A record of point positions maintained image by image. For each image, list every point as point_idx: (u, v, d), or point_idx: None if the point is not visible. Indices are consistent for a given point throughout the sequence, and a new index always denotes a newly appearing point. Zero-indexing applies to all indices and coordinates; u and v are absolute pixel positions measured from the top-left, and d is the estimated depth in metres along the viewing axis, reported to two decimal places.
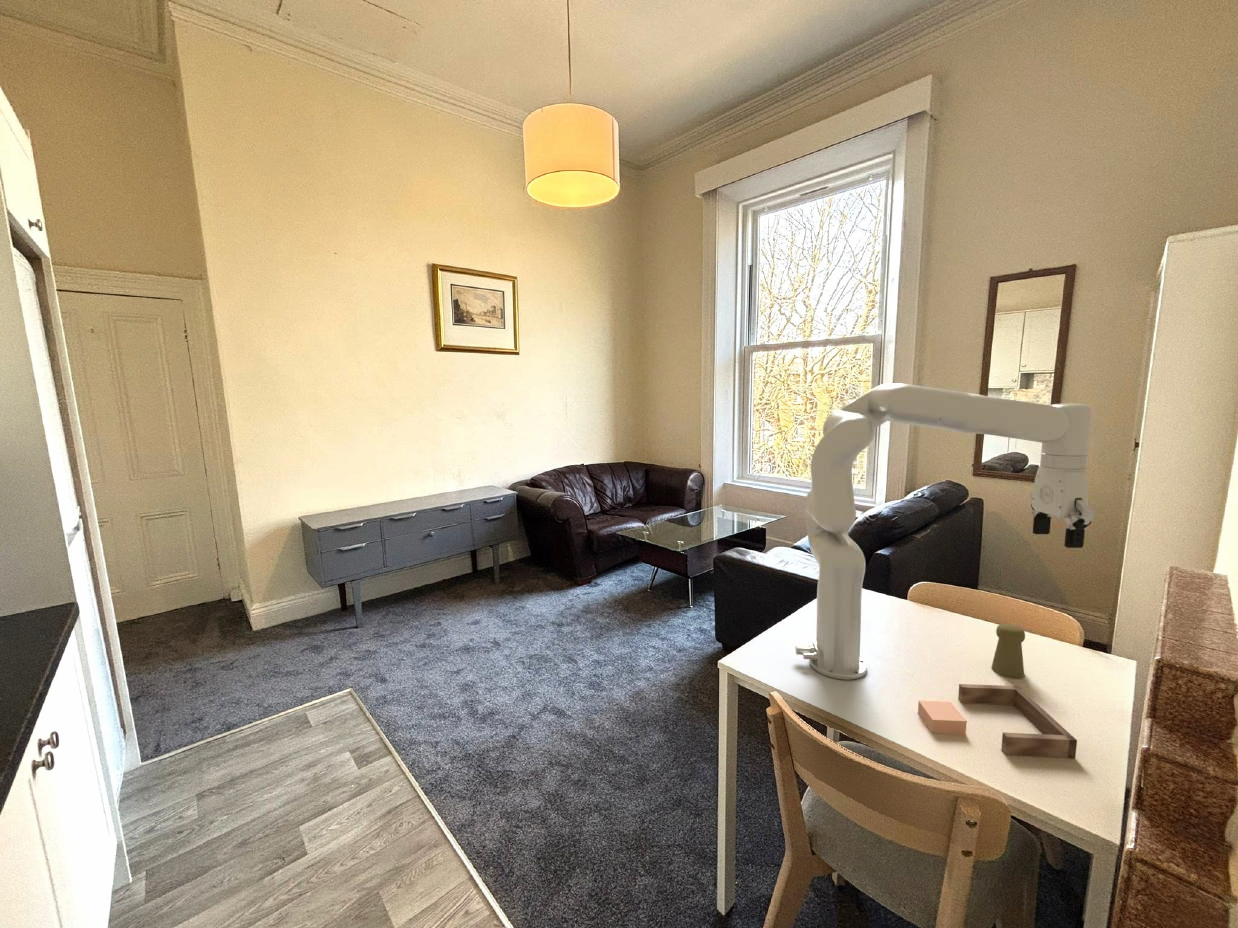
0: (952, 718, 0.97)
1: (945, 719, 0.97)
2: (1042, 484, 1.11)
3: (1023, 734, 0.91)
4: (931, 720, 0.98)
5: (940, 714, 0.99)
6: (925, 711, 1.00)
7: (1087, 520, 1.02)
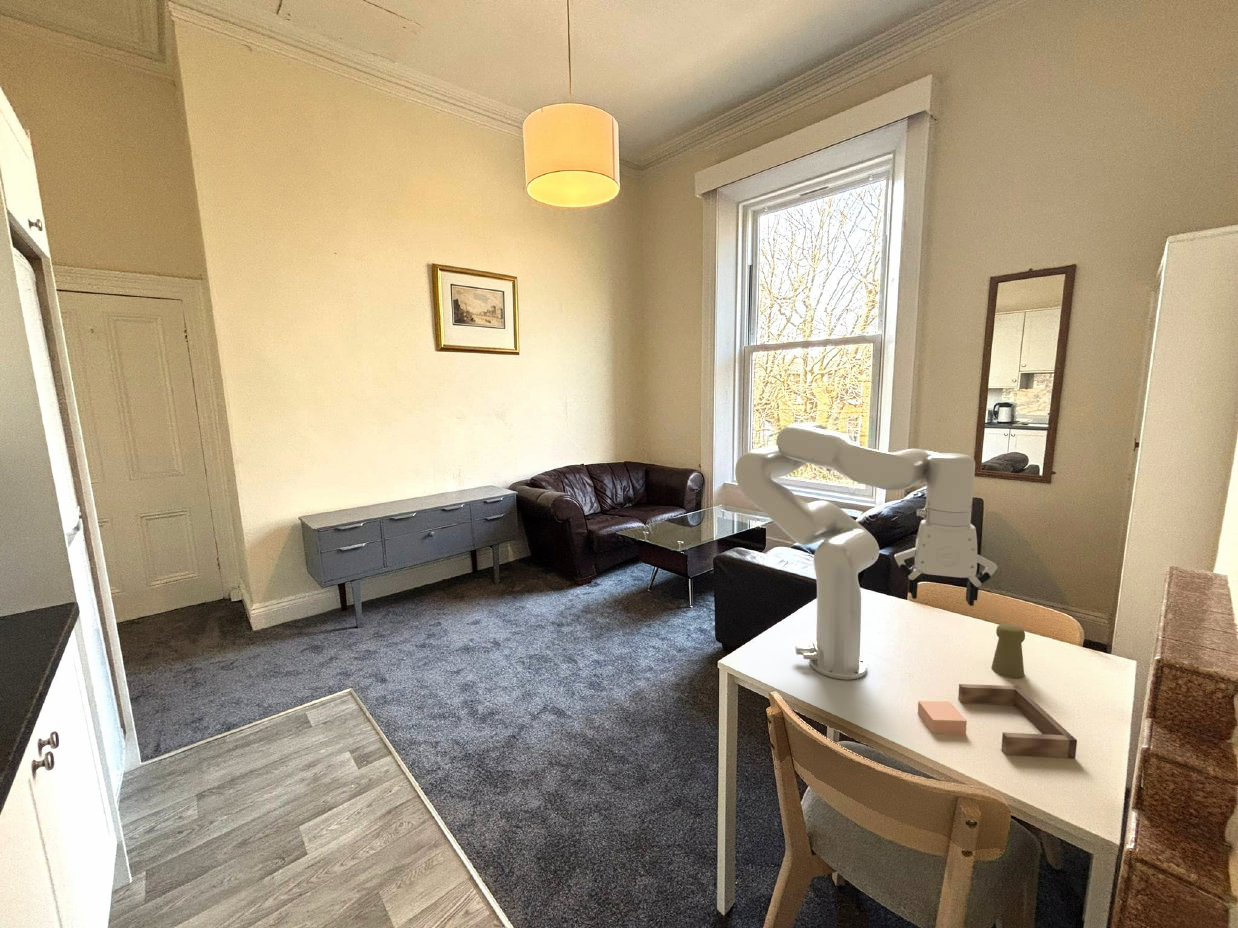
0: (952, 718, 0.97)
1: (946, 719, 0.97)
2: (940, 545, 0.98)
3: (1023, 734, 0.91)
4: (931, 721, 0.98)
5: (940, 714, 0.99)
6: (925, 711, 1.00)
7: None
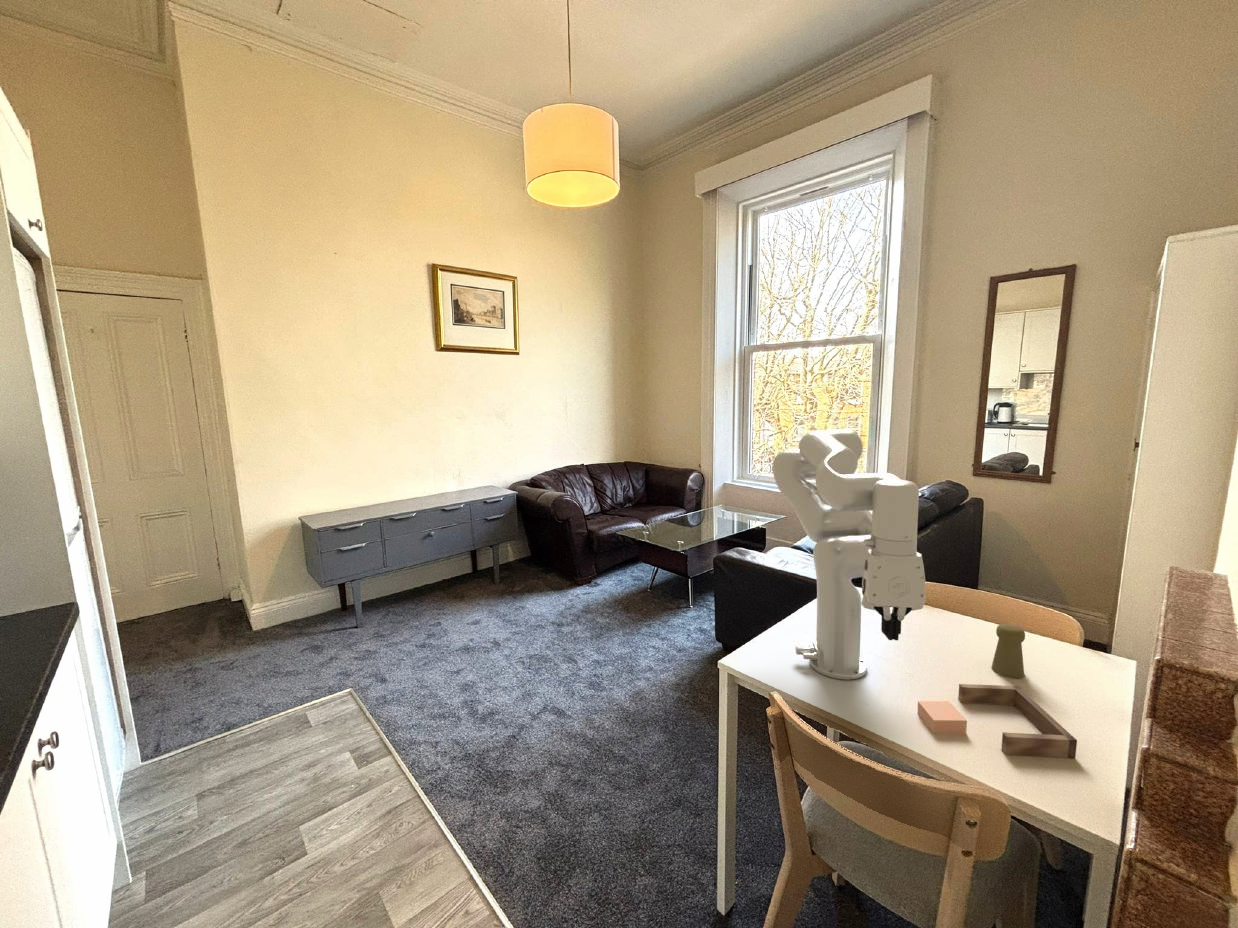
0: (952, 718, 0.97)
1: (946, 719, 0.97)
2: (891, 575, 0.94)
3: (1023, 734, 0.91)
4: (932, 721, 0.98)
5: (940, 714, 0.99)
6: (925, 712, 1.00)
7: None
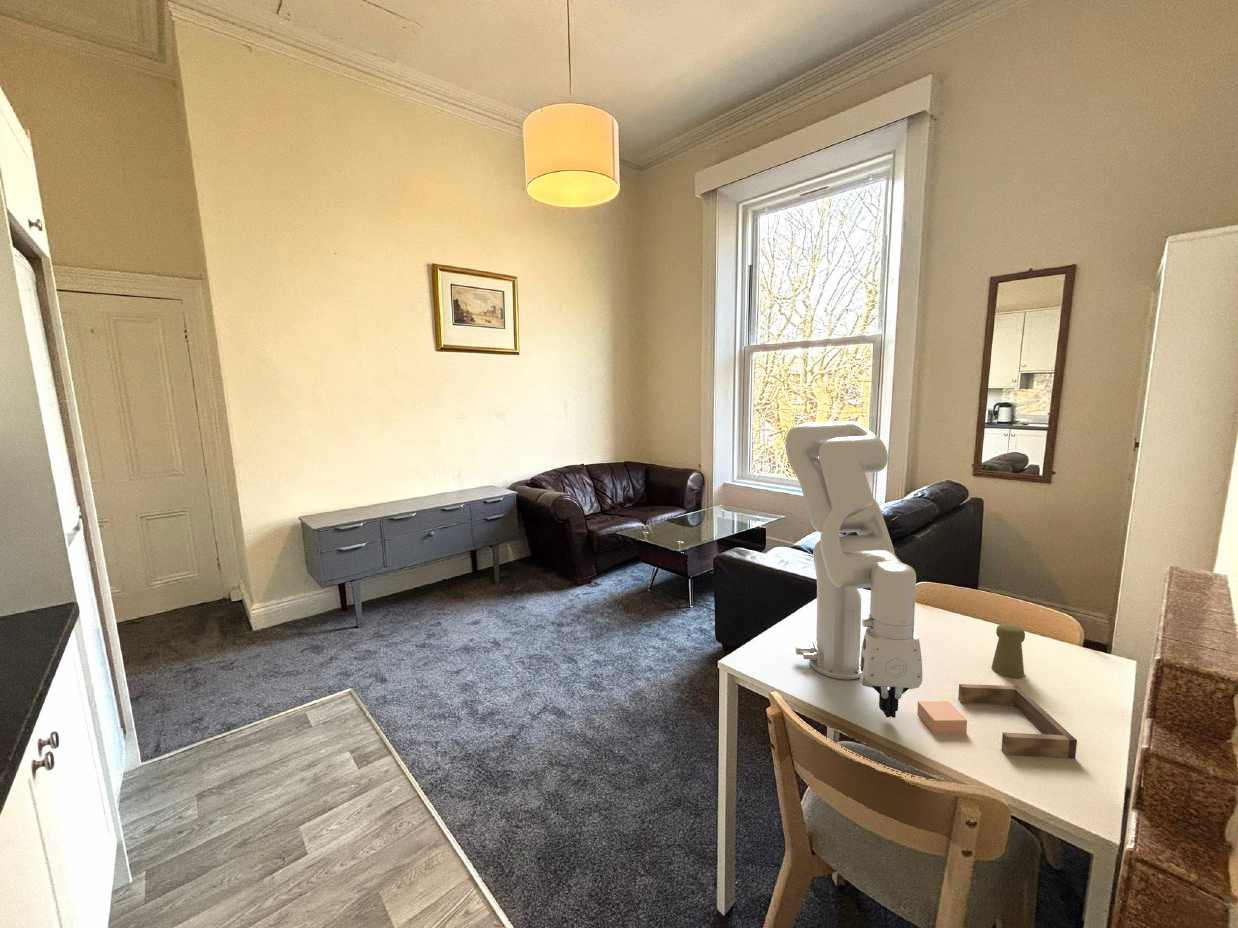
0: (952, 718, 0.97)
1: (947, 719, 0.97)
2: (888, 657, 0.97)
3: (1023, 734, 0.91)
4: (933, 721, 0.97)
5: (940, 714, 0.99)
6: (926, 712, 1.00)
7: None
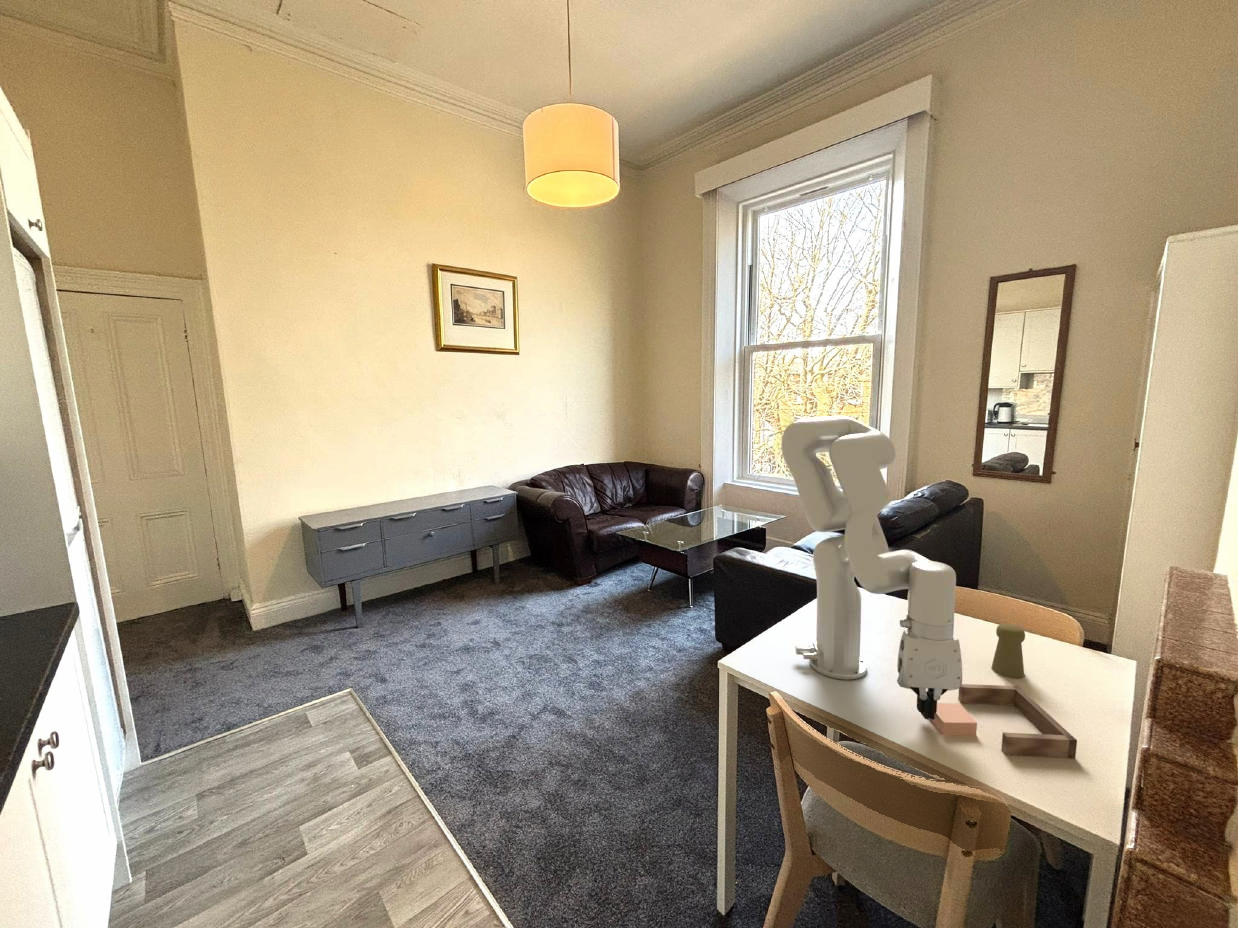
0: (962, 720, 0.97)
1: (956, 721, 0.97)
2: (928, 658, 0.96)
3: (1023, 734, 0.91)
4: (942, 723, 0.97)
5: (950, 716, 0.98)
6: (935, 713, 1.00)
7: None
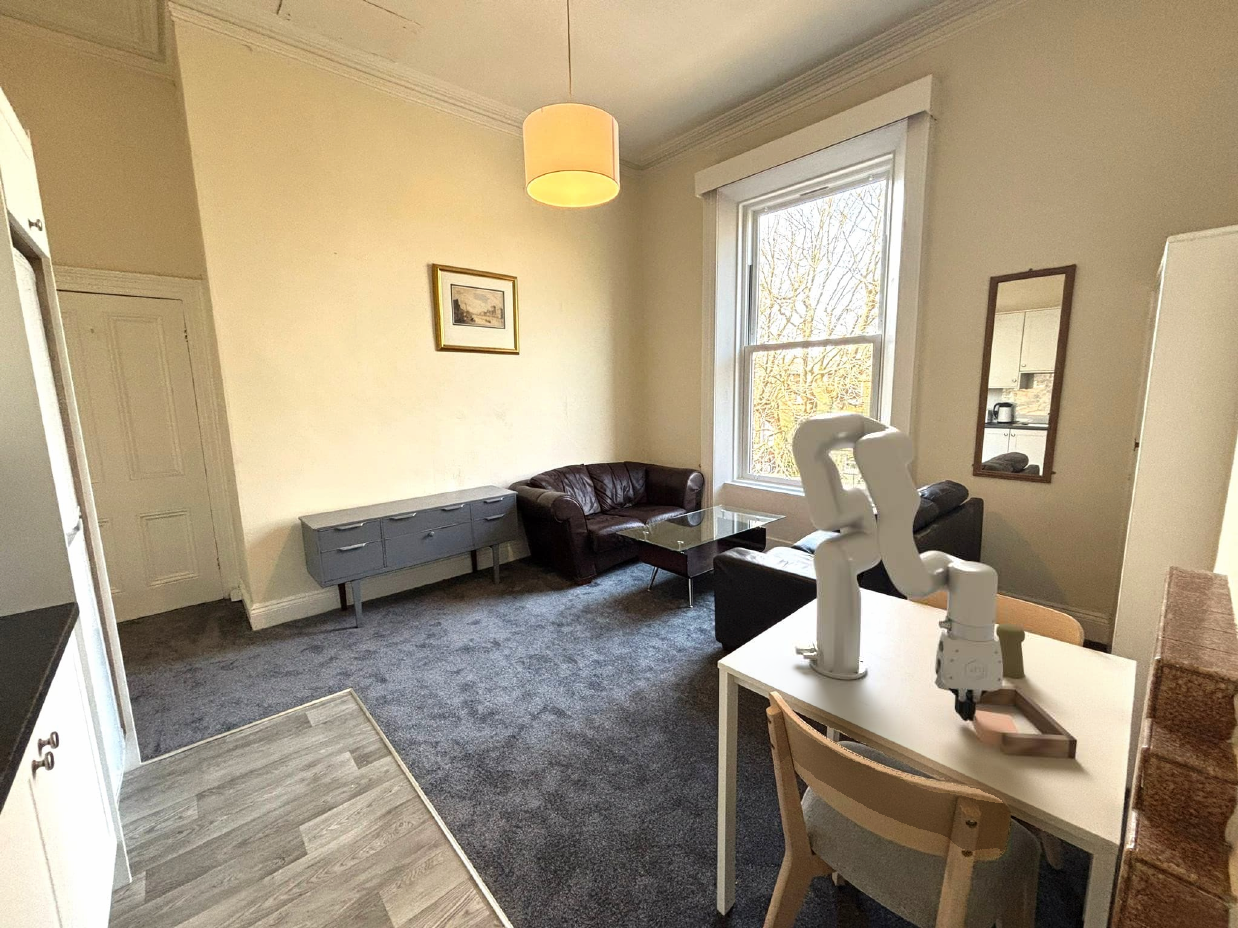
0: (1003, 731, 0.93)
1: (996, 730, 0.94)
2: (968, 659, 0.95)
3: (1023, 734, 0.91)
4: (980, 730, 0.95)
5: (991, 725, 0.95)
6: (976, 720, 0.97)
7: None
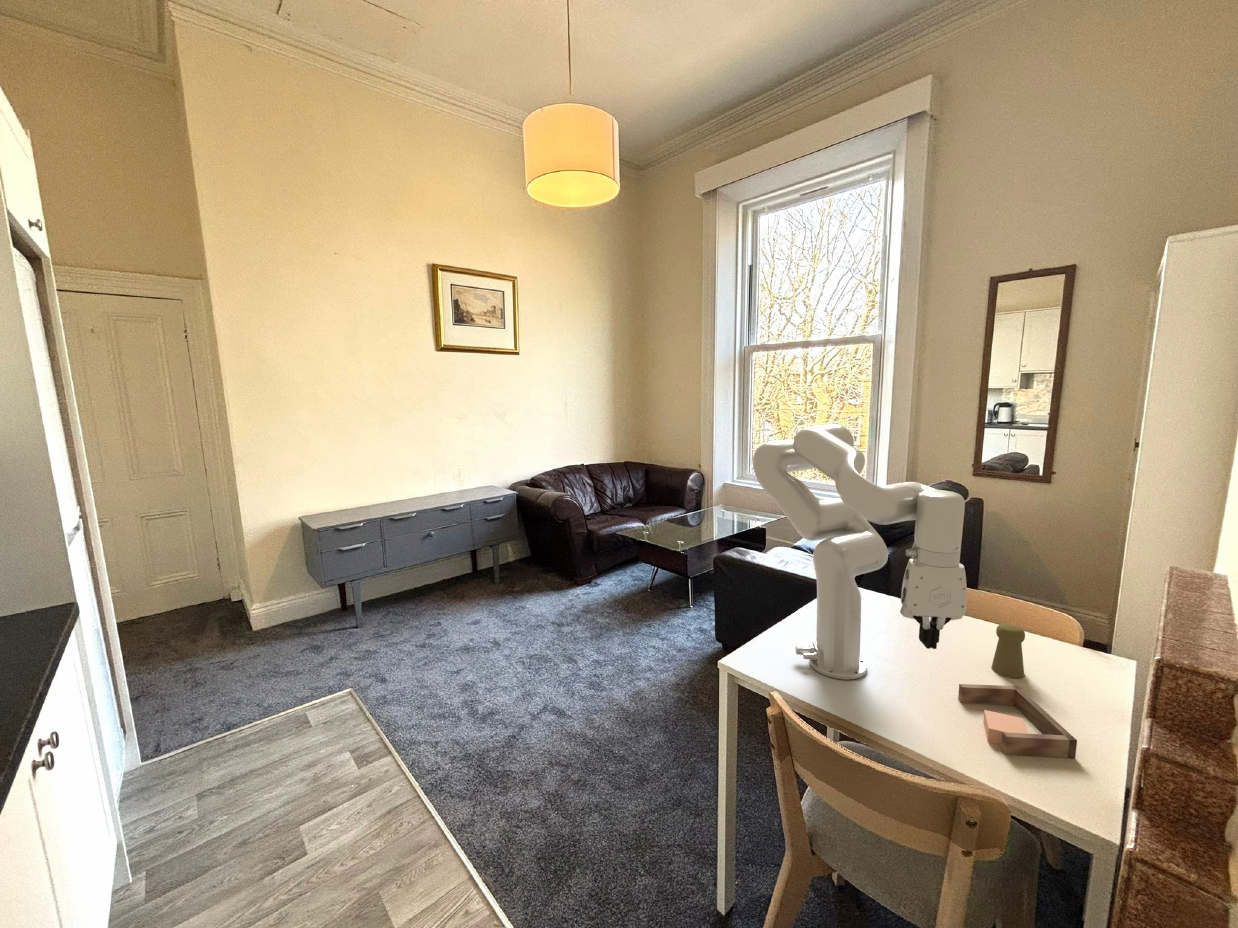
0: (1012, 732, 0.93)
1: (1005, 731, 0.93)
2: (933, 586, 0.95)
3: (1023, 734, 0.91)
4: (988, 729, 0.95)
5: (1001, 725, 0.95)
6: (986, 720, 0.97)
7: None
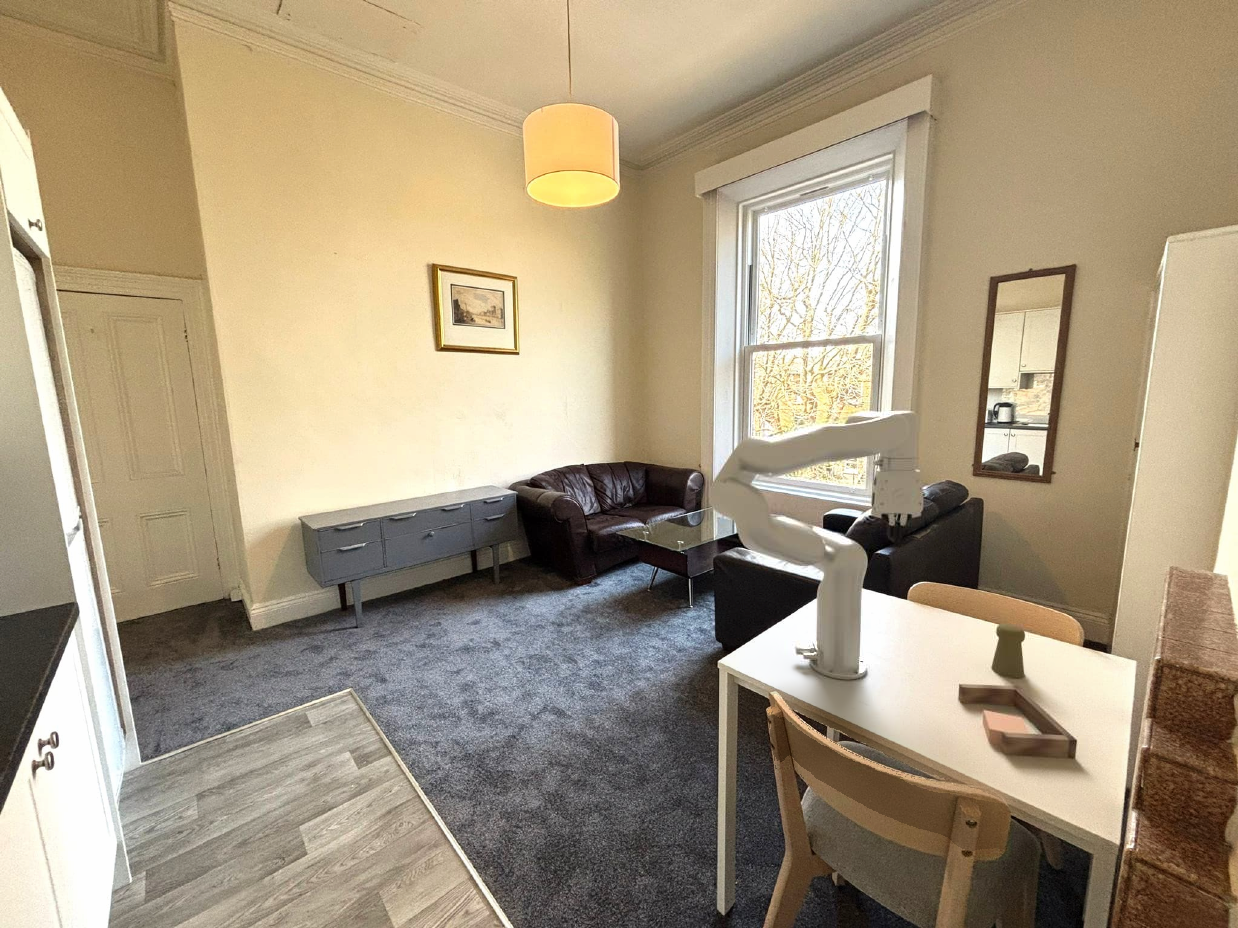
0: (1013, 732, 0.93)
1: (1005, 731, 0.93)
2: (895, 487, 1.17)
3: (1023, 734, 0.91)
4: (989, 730, 0.95)
5: (1001, 725, 0.95)
6: (986, 720, 0.97)
7: None
